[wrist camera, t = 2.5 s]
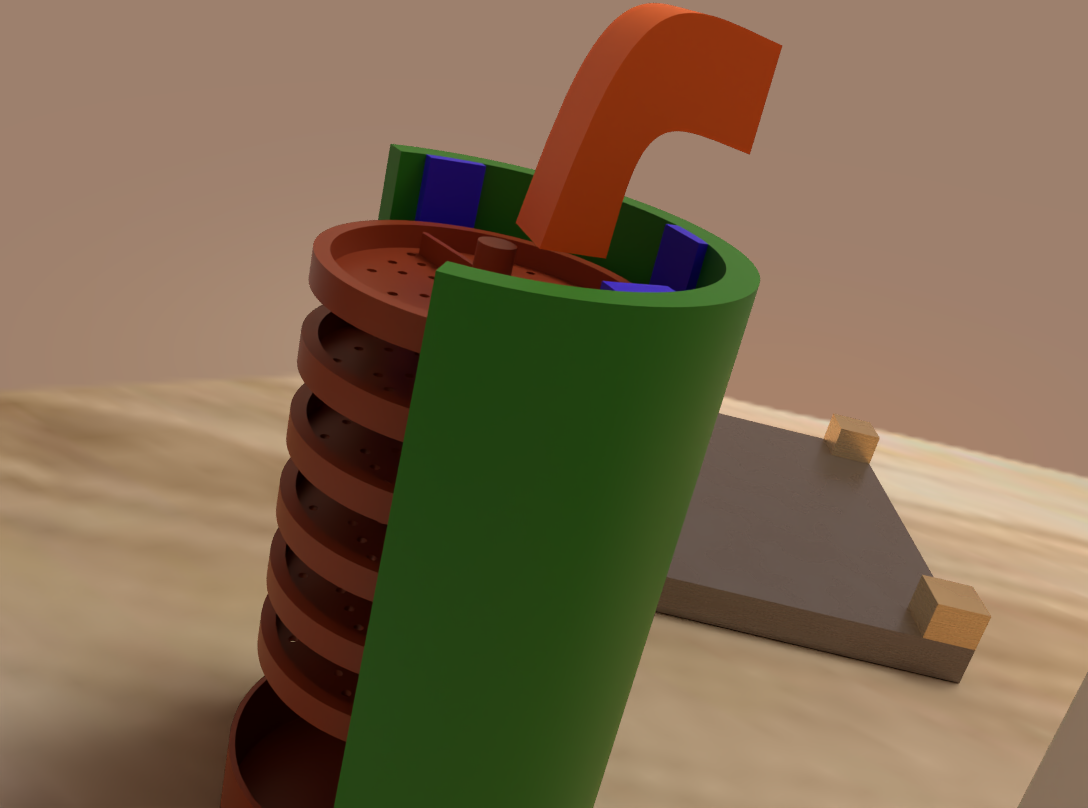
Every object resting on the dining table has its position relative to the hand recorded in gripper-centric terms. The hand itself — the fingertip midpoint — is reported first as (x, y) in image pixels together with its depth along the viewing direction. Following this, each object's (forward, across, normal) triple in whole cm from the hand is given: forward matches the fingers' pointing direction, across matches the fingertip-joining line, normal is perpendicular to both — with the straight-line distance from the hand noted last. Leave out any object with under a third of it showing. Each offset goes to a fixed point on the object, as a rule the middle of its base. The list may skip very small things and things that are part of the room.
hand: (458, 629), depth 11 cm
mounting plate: (+32, +10, -13) cm, 36 cm away
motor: (+11, 0, -14) cm, 18 cm away
